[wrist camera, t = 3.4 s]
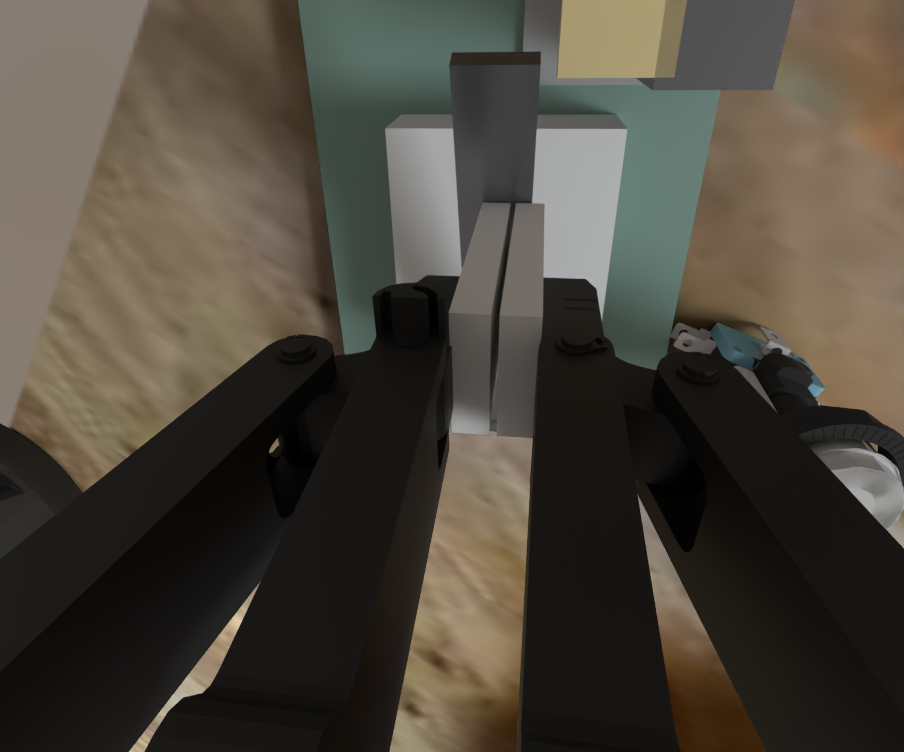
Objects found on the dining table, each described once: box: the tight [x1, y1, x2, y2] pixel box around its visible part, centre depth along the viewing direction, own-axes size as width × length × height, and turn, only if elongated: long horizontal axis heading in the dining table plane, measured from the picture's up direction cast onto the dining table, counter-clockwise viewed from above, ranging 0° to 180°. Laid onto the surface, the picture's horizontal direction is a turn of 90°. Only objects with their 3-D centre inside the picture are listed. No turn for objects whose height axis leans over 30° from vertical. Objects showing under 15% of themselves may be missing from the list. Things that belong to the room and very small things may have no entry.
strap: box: [449, 51, 541, 431], centre depth 19 cm, size 3×16×1 cm, turn 1°
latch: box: [556, 0, 795, 90], centre depth 17 cm, size 6×3×6 cm, turn 91°
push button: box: [670, 323, 904, 530], centre depth 23 cm, size 7×5×10 cm
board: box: [298, 0, 721, 370], centre depth 23 cm, size 15×18×4 cm
